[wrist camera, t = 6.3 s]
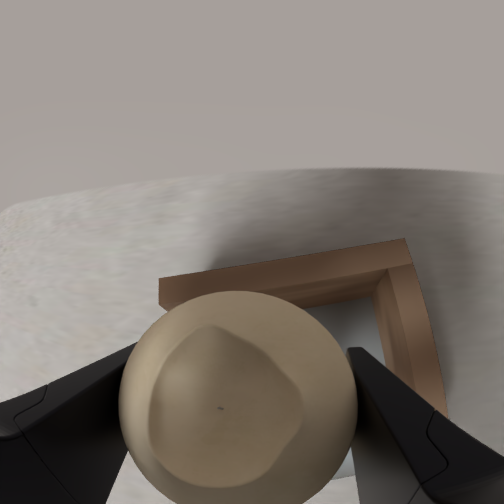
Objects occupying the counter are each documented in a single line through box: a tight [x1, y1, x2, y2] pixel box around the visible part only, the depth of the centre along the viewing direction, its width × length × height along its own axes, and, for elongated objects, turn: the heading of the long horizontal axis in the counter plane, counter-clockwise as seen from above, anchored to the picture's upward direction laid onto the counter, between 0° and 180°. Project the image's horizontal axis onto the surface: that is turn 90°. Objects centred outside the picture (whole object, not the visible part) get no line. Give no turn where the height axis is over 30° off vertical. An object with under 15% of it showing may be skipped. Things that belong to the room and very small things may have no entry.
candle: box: [118, 291, 358, 504], centre depth 9 cm, size 6×6×10 cm
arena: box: [159, 238, 448, 480], centre depth 16 cm, size 12×14×5 cm
